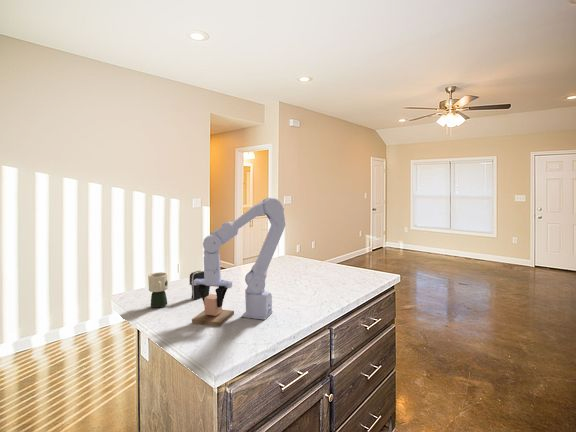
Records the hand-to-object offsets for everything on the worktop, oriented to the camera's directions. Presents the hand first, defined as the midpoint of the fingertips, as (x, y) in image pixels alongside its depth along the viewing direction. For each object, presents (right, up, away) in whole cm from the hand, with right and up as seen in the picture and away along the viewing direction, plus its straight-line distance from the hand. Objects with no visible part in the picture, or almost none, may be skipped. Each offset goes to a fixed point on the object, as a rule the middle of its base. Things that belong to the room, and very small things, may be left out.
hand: (213, 305), depth 118 cm
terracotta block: (0, -3, 0) cm, 3 cm away
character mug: (-25, -4, +14) cm, 29 cm away
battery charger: (-12, -3, +24) cm, 27 cm away
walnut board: (0, -5, 0) cm, 5 cm away
